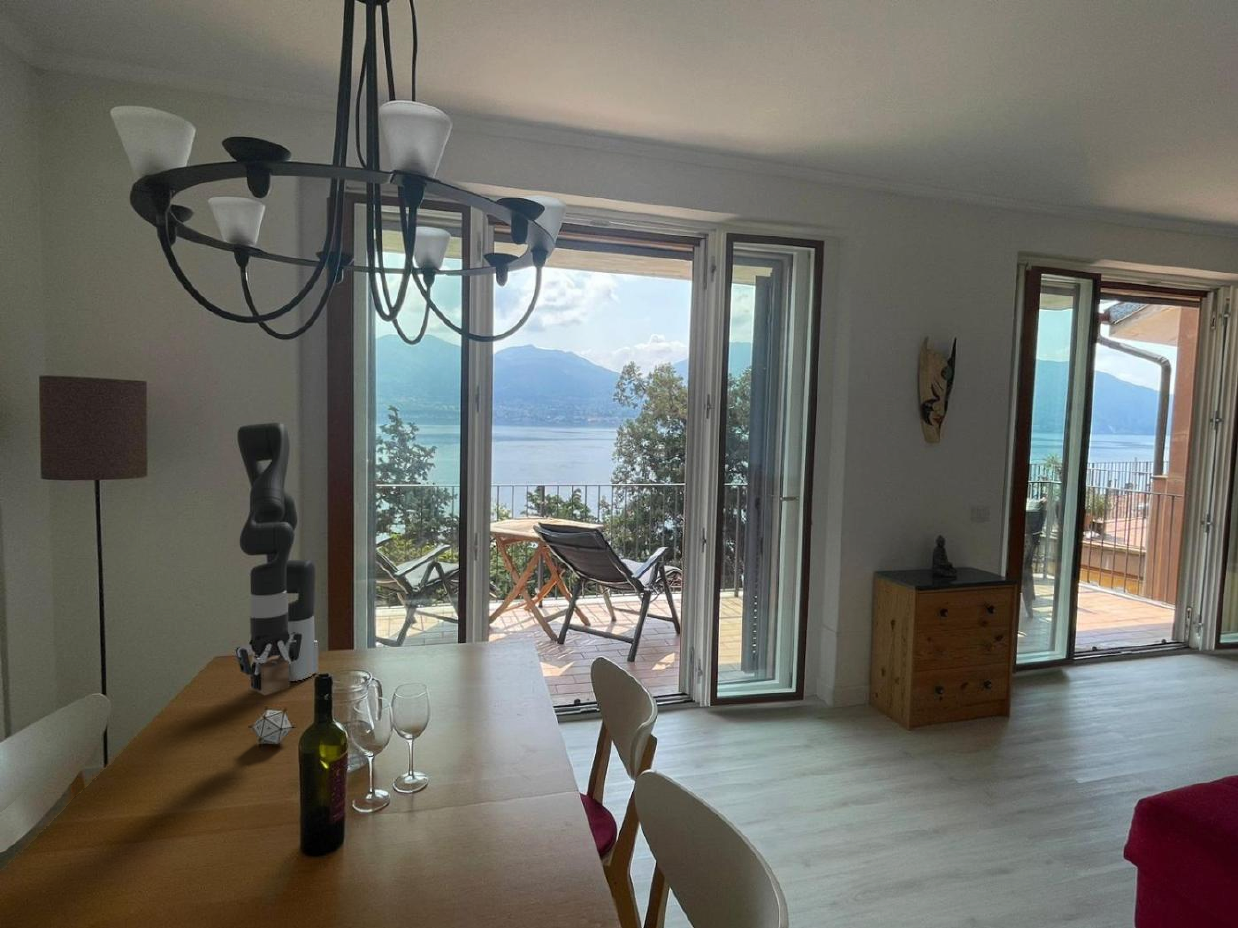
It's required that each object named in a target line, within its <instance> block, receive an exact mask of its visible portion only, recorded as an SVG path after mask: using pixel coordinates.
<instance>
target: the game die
mask: <svg viewBox="0 0 1238 928" xmlns="http://www.w3.org/2000/svg"><path fill="white" fill-rule="evenodd" d="M264 709H265V711H264V712H262V714H261V715H260V716H259V718H258V719H257V720H256V721H255V722H254V724H253V725H248V726H247V727H248V728H249V729H250V728H252V730H253V733H254V734H255V736H256V738H257V742H258V743H261V744H265V745H267V744H268V745H276V746H277V745H280V743H281V742H282V741H283V740H284V739H285V737H286V736H287V735H288V733H289V732H290V731H291V730H292V729H296V728H297V726H296V725H293V724H292V723H291V721H290V719H289V717H288V715H287V710H288V707H286V708H284V709H283V710H280V709H279V710H278V709H269V708H268V706H265V707H264Z"/></svg>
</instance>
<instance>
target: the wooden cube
mask: <svg viewBox="0 0 1238 928" xmlns="http://www.w3.org/2000/svg"><path fill="white" fill-rule="evenodd" d="M259 674H261V690H259V691H256V690H254V688H252V687H251V689H252V690H253V691H255V692H256V693H259V694H261V695H263V696H268V695H271V694H273V693H277V692H279V691H283V690H285V689H289V688H290V686H291V684H290V683H291V682H290V674H289V661H287V660H283V659H282V658H278V656H277V655H276V656H271V657H269V658H266V661H265V664H263V666H262V667H261V671H260V673H259Z"/></svg>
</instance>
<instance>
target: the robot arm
mask: <svg viewBox="0 0 1238 928" xmlns="http://www.w3.org/2000/svg"><path fill="white" fill-rule="evenodd" d="M236 434H237V437H236V438H237V445H238V448H239V452H240V455H241V458H242V462H243V466H244V468H245V470H246V471H245V472H246V475H247V478H248V481H249V484H250V488H251V489H250V494H249V513H248V517H247V519H246V521H245V523H244V526H243V527H242V530H241V533H240V536H239V547H240V549H241V551H242V552H243V553H244V554H246V555H248V556H265V557H266V563H262V564H259V565H256V566H254V567H252V569H251V570H250V575H249V577H250V582H249V583H250V598H249V625H250V628H249V629H250V641H249V643H248V644H247V645H245V646H242V647H241V646H237V647H236V648H235V654H236V658H237V662H238V665H239V670H240V672H241V673H243V674H246V675H247V676H248V675H249V676H250V687H251V689H252V688H254V690H253V691H255V690H256V691H255V692H257V691H259V690H261V674H259V673H260V671H261V667H262V666H263V664H265V661H266V659H268V658H271V657H275V656H278V658H282V659H283V660H287V661H289V674H290V681H292V680H298V679H302V678H306V677H308V676H311V675H312V674H313V673H316V672H317V671H318V672H319V644H318V643H319V642H318V640H317V639H315V598H316V597H315V591H316V589H315V588H316V568H315V565H314V562H313V561H312V560H307V559H306V560H305V559H303V560H301V559H299V560H297V559H293V560H291V559H290V560H289V558H290V553H291V551H292V547H293V545H294V542H295V529H296V528H297V524H298V514H297V510H296V505H295V500H294V498H293V497H292V495H291V494H290V493H289V492H288V491H287V490H286V489H285V482H286V475H287V469H288V466H289V465H288V464H289V459H290V457H289V456H290V447H291V445H290V437H289V434H288V430H287V428H286V426H285V425H284V424H283V423H281V422H270V423H269V422H267V423H257V424H248V425H247V424H246V425H242V426H240V427H239V428H238V429H237V433H236ZM264 461H270V463H269V464H268V465H267V467H265V468H264V467H263V465H262V463H261V462H264ZM289 594H298V595H297V596H298V597H297V599H296V600H295V601H292V602H289V598H288V595H289ZM251 651H252V652H253V655H252V657H251V663H250V659H249V658H250V657H249V656H250V655H251ZM316 674H318V673H316ZM316 674H315V675H316Z"/></svg>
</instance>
